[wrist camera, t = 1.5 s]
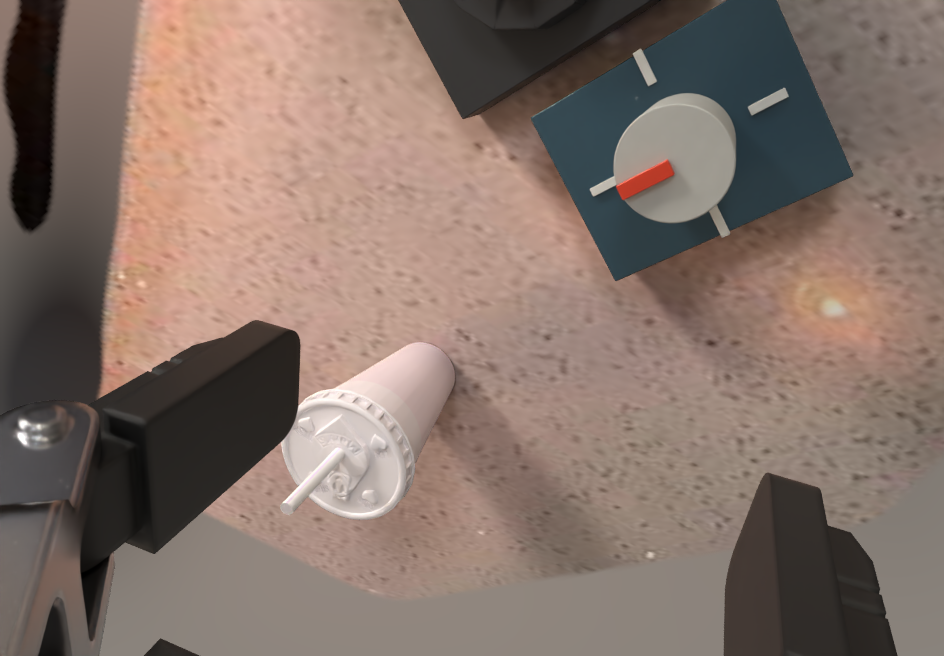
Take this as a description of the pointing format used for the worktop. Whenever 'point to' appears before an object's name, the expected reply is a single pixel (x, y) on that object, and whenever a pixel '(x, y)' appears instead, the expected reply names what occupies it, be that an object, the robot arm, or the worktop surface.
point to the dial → (676, 159)
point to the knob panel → (737, 91)
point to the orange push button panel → (508, 40)
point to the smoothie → (367, 434)
